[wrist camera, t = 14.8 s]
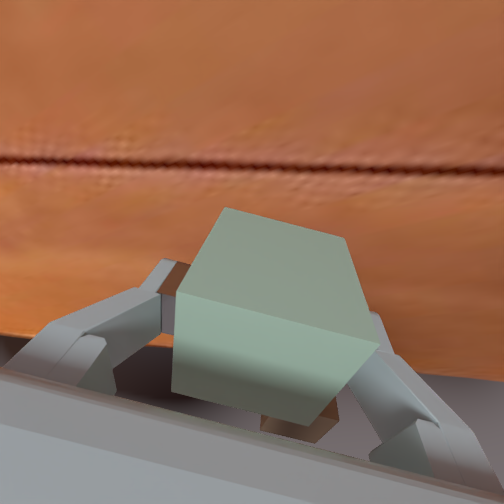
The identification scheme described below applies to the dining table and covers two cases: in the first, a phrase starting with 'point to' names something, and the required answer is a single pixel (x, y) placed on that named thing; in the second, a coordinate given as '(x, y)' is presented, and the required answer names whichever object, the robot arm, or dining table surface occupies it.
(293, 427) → the walnut block
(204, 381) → the sage cube
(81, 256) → the dining table surface
